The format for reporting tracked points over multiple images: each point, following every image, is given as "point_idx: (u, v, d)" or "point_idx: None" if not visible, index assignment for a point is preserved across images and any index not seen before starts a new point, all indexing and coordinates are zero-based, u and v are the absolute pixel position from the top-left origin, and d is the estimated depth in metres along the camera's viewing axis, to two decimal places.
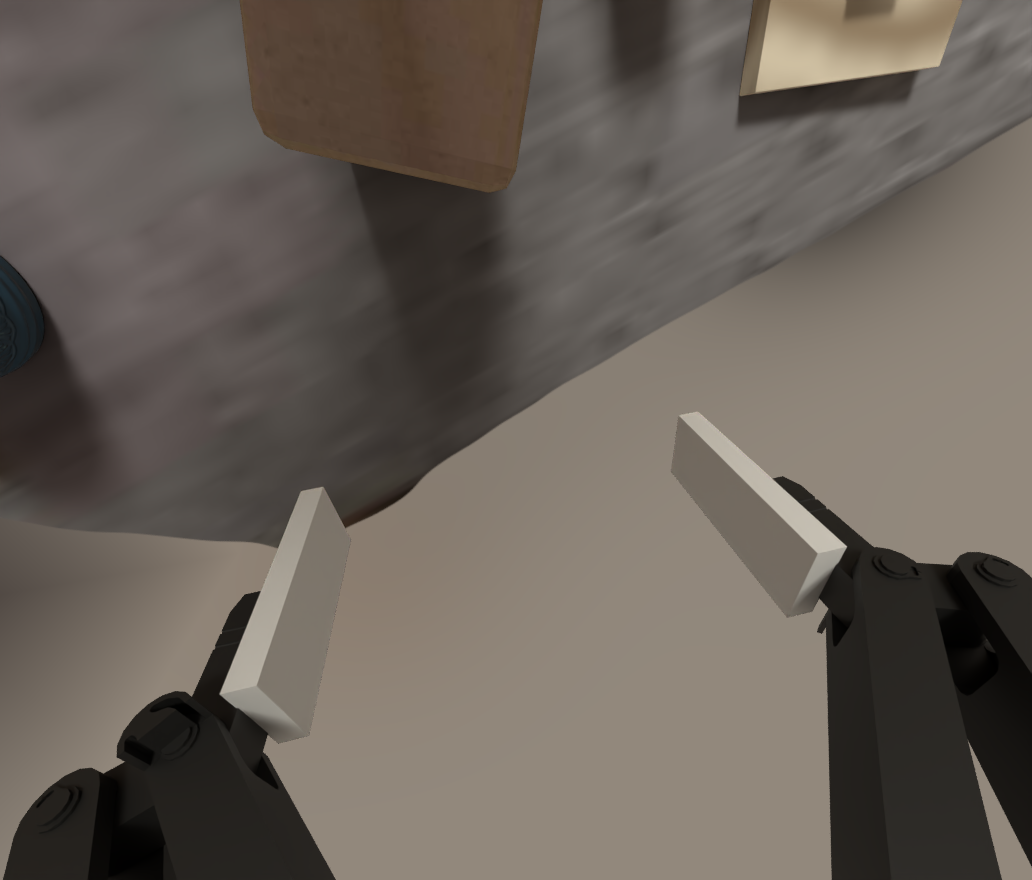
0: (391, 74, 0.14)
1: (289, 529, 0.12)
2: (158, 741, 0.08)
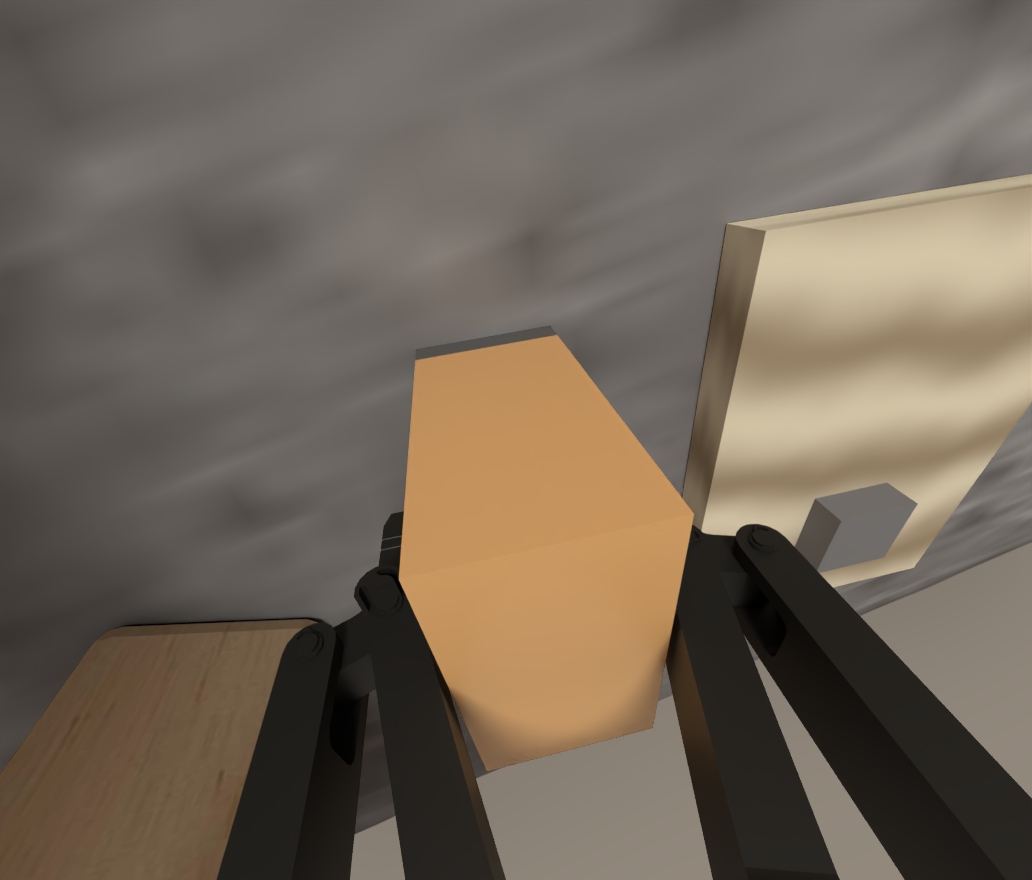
0: None
1: None
2: (378, 598, 0.10)
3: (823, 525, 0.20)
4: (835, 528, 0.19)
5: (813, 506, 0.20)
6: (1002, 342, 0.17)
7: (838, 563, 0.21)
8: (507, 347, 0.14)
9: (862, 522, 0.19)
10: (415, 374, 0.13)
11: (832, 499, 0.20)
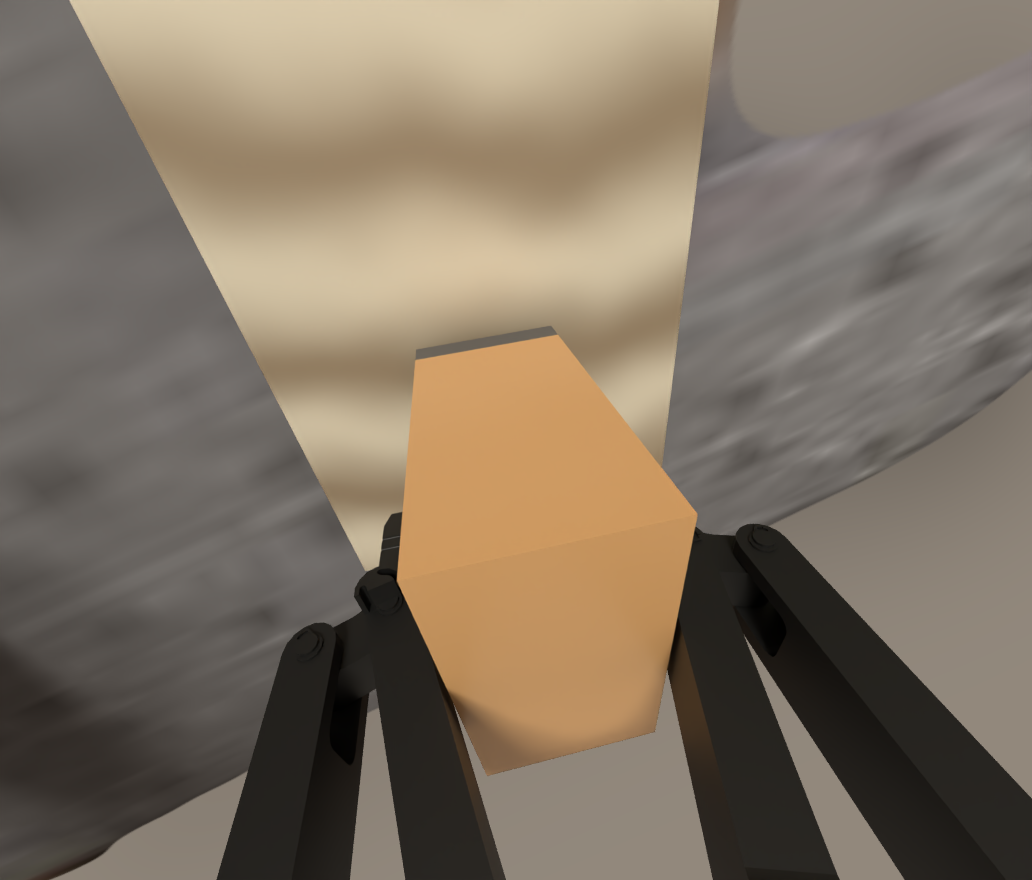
0: None
1: None
2: (378, 597, 0.10)
3: None
4: None
5: None
6: (581, 168, 0.13)
7: None
8: (507, 347, 0.14)
9: None
10: (415, 374, 0.13)
11: None
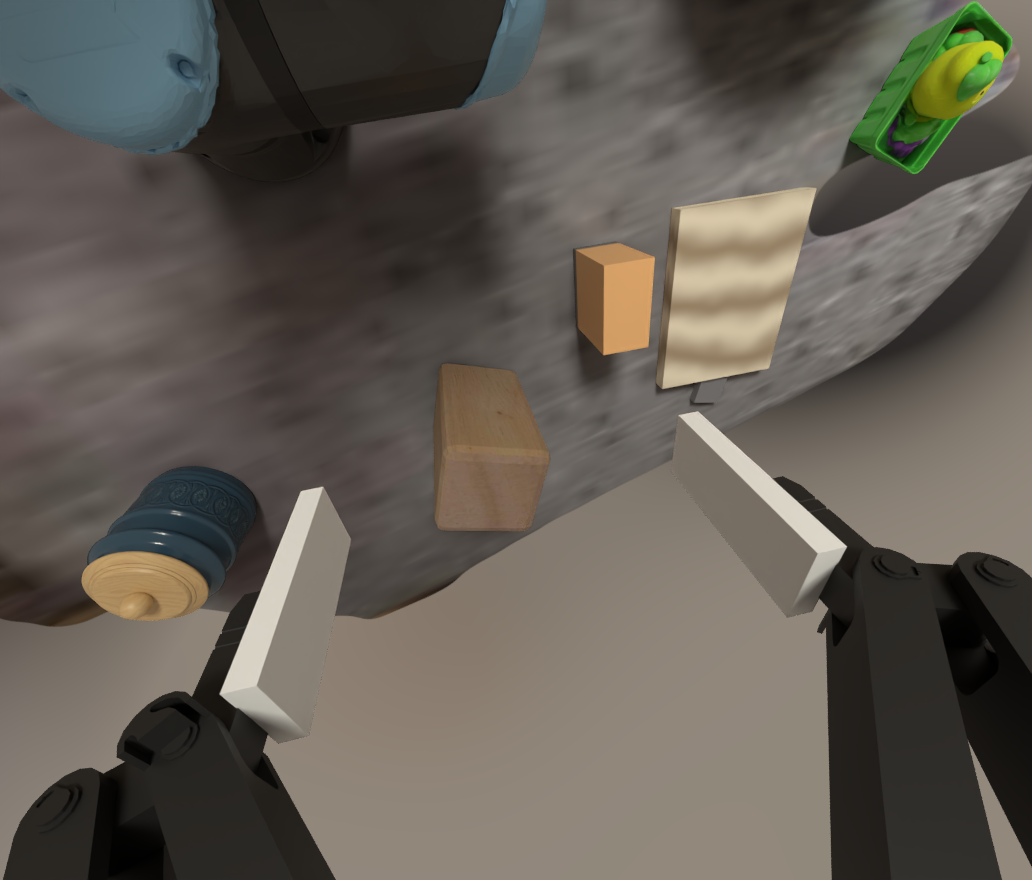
0: (488, 513, 0.39)
1: (289, 529, 0.12)
2: (158, 742, 0.08)
3: (698, 382, 0.58)
4: None
5: None
6: (770, 250, 0.48)
7: (702, 400, 0.60)
8: (603, 245, 0.45)
9: (709, 380, 0.58)
10: (579, 251, 0.44)
11: None
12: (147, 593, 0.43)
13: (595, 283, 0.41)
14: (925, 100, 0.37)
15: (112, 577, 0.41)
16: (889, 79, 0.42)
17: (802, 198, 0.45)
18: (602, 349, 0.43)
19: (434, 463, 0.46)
